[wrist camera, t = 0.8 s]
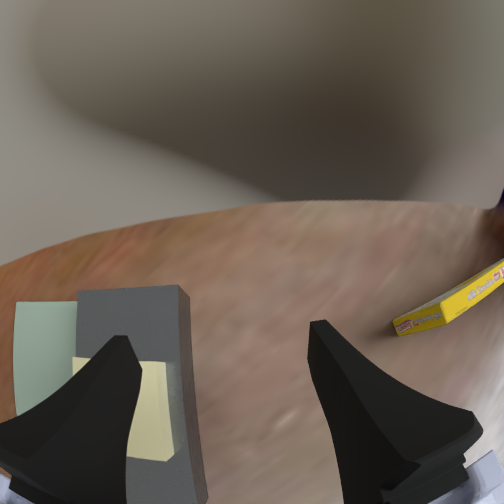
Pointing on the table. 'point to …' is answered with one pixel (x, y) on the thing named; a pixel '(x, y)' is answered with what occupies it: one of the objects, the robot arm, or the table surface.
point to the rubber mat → (42, 350)
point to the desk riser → (177, 375)
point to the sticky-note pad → (148, 414)
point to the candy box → (451, 302)
